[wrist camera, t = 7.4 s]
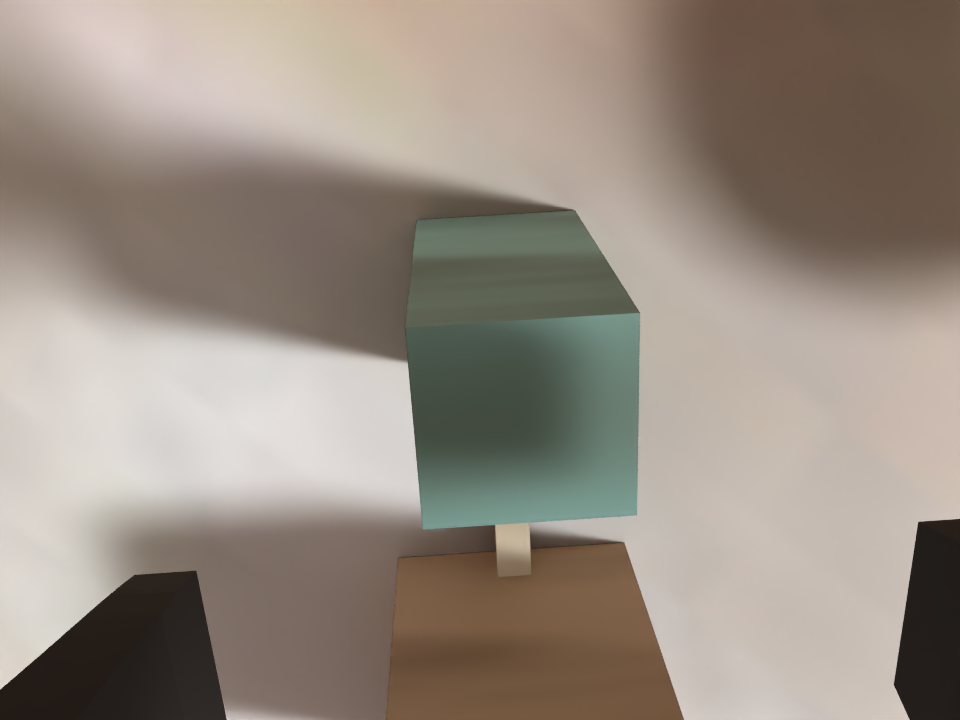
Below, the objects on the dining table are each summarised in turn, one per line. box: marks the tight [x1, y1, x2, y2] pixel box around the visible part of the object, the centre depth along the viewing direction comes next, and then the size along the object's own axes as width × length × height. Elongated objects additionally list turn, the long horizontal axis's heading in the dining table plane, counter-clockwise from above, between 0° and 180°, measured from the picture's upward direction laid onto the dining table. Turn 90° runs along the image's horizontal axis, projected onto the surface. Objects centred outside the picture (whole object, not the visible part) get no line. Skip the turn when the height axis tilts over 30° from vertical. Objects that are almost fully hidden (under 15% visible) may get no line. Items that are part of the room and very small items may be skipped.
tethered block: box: [386, 210, 684, 720], centre depth 17 cm, size 12×5×6 cm, turn 3°
